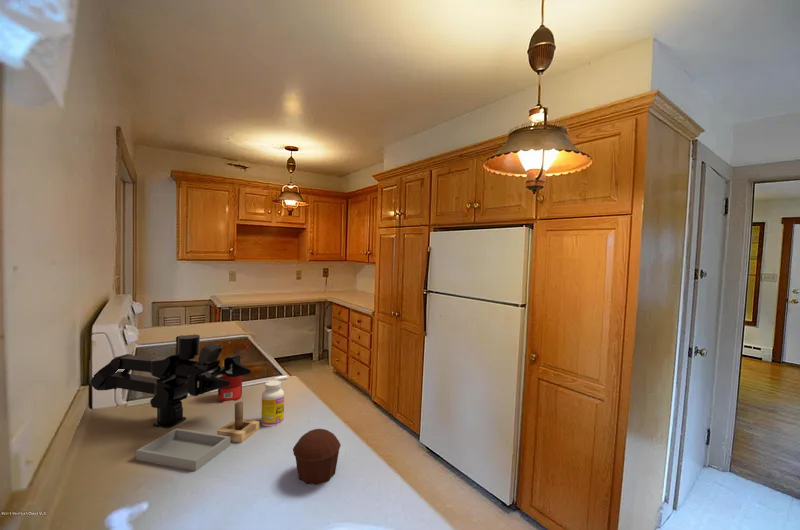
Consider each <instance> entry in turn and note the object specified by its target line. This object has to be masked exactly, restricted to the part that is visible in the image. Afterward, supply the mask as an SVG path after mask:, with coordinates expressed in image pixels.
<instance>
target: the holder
mask: <svg viewBox="0 0 800 530" xmlns="http://www.w3.org/2000/svg"><path fill="white" fill-rule="evenodd" d="M259 430H260V421H258V420H254V419H253V420H252V419H246V418H243V429H242V430H235V418H234V419H233V420H231V421H229V422H228V423H226V424H225V425H223V426H222V427H220V428H219V429H217V431H216V435H222V436H229V437H230V442H234V443H239V444H242V443H243V442H245V441H247V440H248V439H249V438H250V437H251V436H253V435H254V434H256V432H258V431H259Z"/></svg>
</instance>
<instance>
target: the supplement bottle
mask: <svg viewBox="0 0 800 530" xmlns="http://www.w3.org/2000/svg"><path fill="white" fill-rule="evenodd" d="M264 385H265V390H264V391H263V392H262V394H261V418H260V419H261V420H260V421H261V425H262V426H264V427H267V428H269V427H277V426H279V425H282V424H283V422H285V421H284V419H285V391H284V390H283V389H282V388H281V386H282V381H281V380H278V379H277V380H269V381H266V382H265V383H264Z"/></svg>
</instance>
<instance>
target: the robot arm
mask: <svg viewBox="0 0 800 530" xmlns="http://www.w3.org/2000/svg"><path fill="white" fill-rule="evenodd" d="M200 337H201V336H200V335H199V334H196V333H195V334H194V333H193V334H188V335H182V334H181V335H177V336H176V337H175V343H176V344H175V346H176V347H175V348H176V349H175V352H176V353H175V354H172V355H167V356H161V357H153V356H144V355H143V356H142V355H133V354H131V353H129V354H128V353H125V354H123V355H119V356H115V357H114V358H113V359H111V361H109V362H108V363H107V364H106V365H105V366H103V367H102V368H100V369H99V370H98V371H97V372H95V373H96V374H95V373H94V374H95V375H94V374H93V375H94V377H93V376H92V377H91V380H90V384H91V387H93V389H94V390H95V391H99V392H101V391H109V390H114V389H120V390H121V389H122V390H126V391H127V390H128V391H131V392H132V391H133V392H139V393H143V394H144V393H145V394H149V395H154V396H153V397H152V398H151V399H150V401H149V402H150V406H151V408H154V409H157V413H156V414H157V415H156V417H157V418H156V421H155V422H153V423H152V426H153V427H154V426H155V427H161V428H173V426H175V425H177V424H179V423H181V422H183V421H185V420H187V417H186V416H184V408H183V401H182V400H186V399H187V398H188V395H189V396H193V397H197V396H199V395H203V394H206V393H210V392H212V391H216V390H218V389H219V388H222V387H225V386H228V385H230V381H228V380H225V379H221V378H219V377H221V376H223V375H226V376H227V377H232V378H233V377H237V376H242V377H243V376H245V375H250V374H251V373H252V369H250V368H249V367H247V366H245V365H243V364H242V363H241V355H240V354H236V353H235V354H232V355H229V356H227V357H226V358H225V359H224V363H223V365H224V366H222V367H221V365H220V364H221V360H220V359H219V356H220V355H221V353H222V351H223V346H222V345H221V343H216V342H215V343H210V344H207V345H204V346H203V347H202V348H201V350H200V343H201V342H200ZM196 356H198V360H195V358H196ZM118 369H125V370H124V371H123V372H118V373H115V372H116V371H117V370H118ZM131 371H133V372H134V371H135V372H145V373H150V374H151V376H153V377H150V376H144V375H139V374H131V373H130V372H131Z"/></svg>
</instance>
